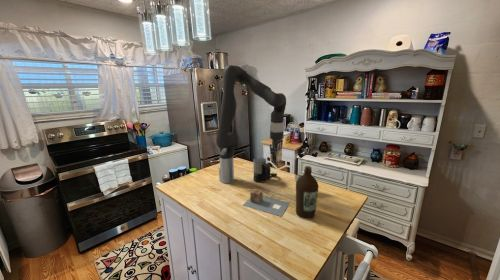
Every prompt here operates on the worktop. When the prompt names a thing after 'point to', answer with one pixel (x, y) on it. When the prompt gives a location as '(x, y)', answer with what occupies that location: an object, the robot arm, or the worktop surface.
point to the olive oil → (306, 194)
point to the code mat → (269, 205)
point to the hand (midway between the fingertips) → (276, 159)
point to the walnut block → (256, 196)
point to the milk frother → (262, 170)
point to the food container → (298, 177)
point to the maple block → (277, 155)
